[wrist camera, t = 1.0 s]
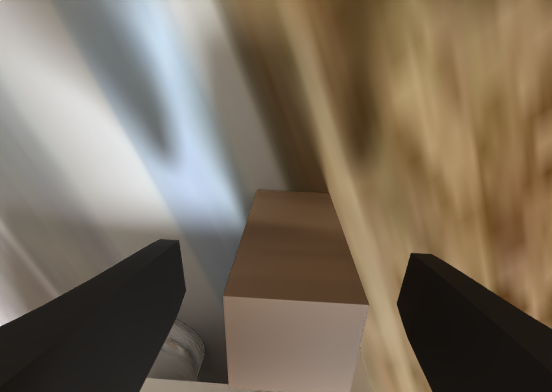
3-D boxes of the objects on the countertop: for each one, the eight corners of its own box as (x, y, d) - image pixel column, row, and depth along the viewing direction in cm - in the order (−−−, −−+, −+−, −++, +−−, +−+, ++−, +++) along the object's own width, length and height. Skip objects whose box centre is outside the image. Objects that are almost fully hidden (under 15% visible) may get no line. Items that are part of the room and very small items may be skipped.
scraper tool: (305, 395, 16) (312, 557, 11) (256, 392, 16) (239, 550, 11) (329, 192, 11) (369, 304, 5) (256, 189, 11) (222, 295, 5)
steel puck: (208, 374, 16) (198, 411, 14) (129, 368, 16) (108, 404, 15) (202, 314, 14) (189, 348, 12) (111, 308, 14) (85, 341, 13)
